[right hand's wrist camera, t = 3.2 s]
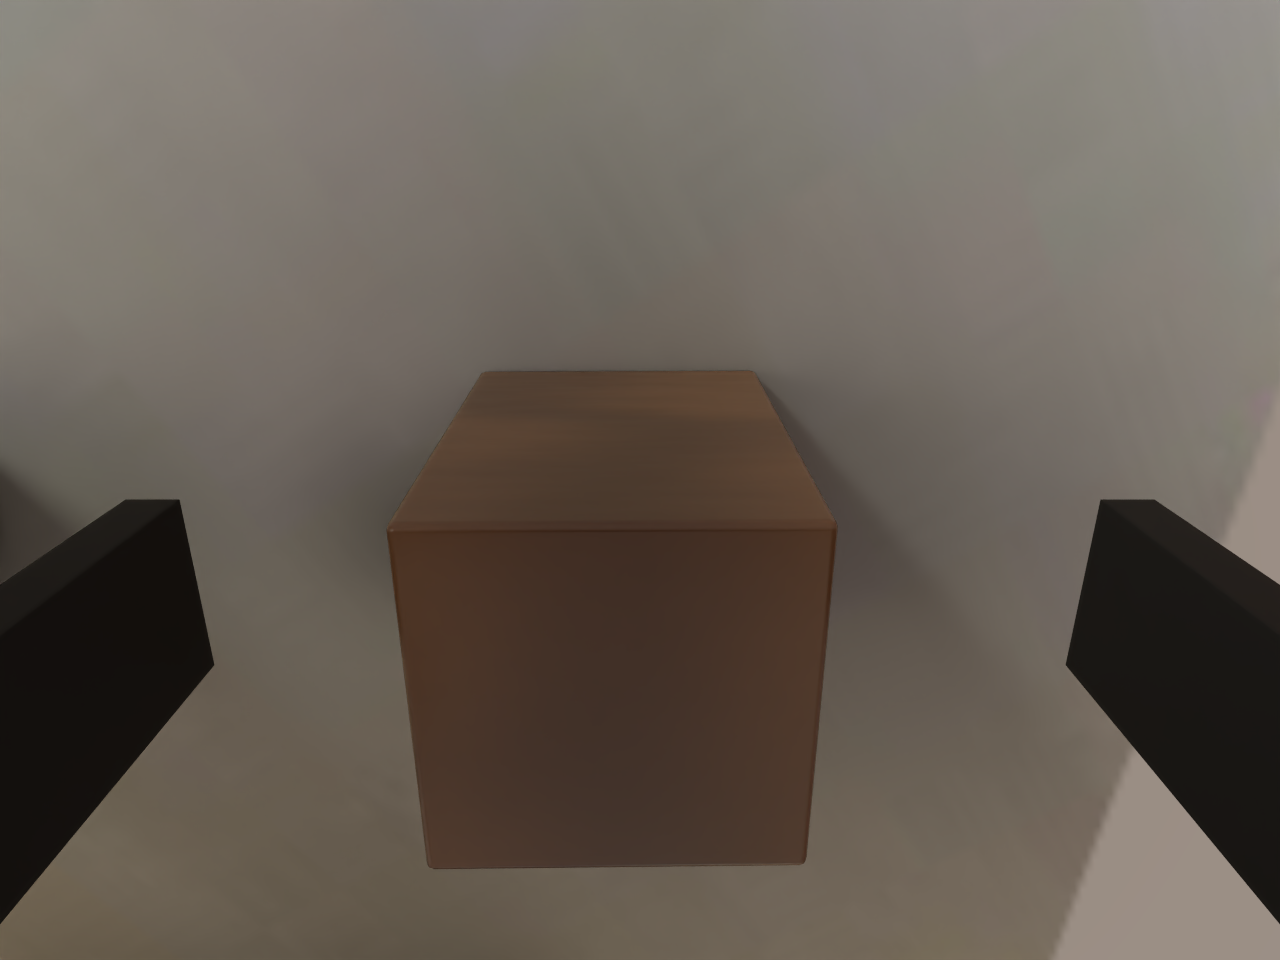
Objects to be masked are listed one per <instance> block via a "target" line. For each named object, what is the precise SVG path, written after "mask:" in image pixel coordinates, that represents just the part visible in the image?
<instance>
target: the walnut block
mask: <svg viewBox="0 0 1280 960" xmlns="http://www.w3.org/2000/svg"><path fill="white" fill-rule="evenodd" d="M837 530H838V526H837V524H836V521H835V519H834V517H833V515H832V514H831V512H830V510H829V508H828V506H827V504H826V502H825V501H824V499H823V497H822V495H821V493H820V491H819V490H818V488H817V486H816V484H815V482H814V480H813V479H812V477H811V475H810V473H809V471H808V469H807V468H806V466H805V464H804V462H803V460H802V458H801V457H800V455H799V453H798V451H797V449H796V447H795V446H794V444H793V442H792V440H791V438H790V436H789V435H788V433H787V431H786V429H785V427H784V425H783V424H782V422H781V420H780V418H779V416H778V414H777V413H776V411H775V409H774V407H773V405H772V403H771V402H770V400H769V398H768V396H767V394H766V392H765V391H764V389H763V387H762V385H761V383H760V381H759V379H758V378H757V376H756V374H755V373H754V372H752V371H596V372H484V373H482V374H481V375H480V377H479V379H478V380H477V382H476V383H475V385H474V387H473V388H472V390H471V391H470V393H469V395H468V396H467V398H466V399H465V401H464V403H463V404H462V406H461V408H460V409H459V411H458V412H457V414H456V416H455V417H454V419H453V420H452V422H451V424H450V425H449V427H448V428H447V430H446V432H445V433H444V435H443V437H442V438H441V440H440V441H439V443H438V445H437V446H436V448H435V449H434V451H433V453H432V454H431V456H430V458H429V459H428V461H427V462H426V464H425V466H424V467H423V469H422V470H421V472H420V474H419V475H418V477H417V478H416V480H415V482H414V483H413V485H412V487H411V488H410V490H409V491H408V493H407V495H406V496H405V498H404V499H403V501H402V503H401V504H400V506H399V507H398V509H397V511H396V512H395V514H394V516H393V517H392V519H391V520H390V522H389V524H388V527H387V538H388V546H389V555H390V563H391V571H392V579H393V587H394V596H395V604H396V612H397V620H398V628H399V637H400V645H401V653H402V661H403V669H404V678H405V686H406V694H407V702H408V710H409V719H410V727H411V735H412V743H413V751H414V760H415V768H416V776H417V784H418V792H419V801H420V809H421V817H422V825H423V833H424V842H425V850H426V858H427V863H428V866H429V867H430V868H433V869H480V868H572V867H664V866H756V865H801V864H803V863H804V862H805V860H806V856H807V845H808V835H809V824H810V814H811V803H812V793H813V782H814V772H815V761H816V751H817V740H818V730H819V719H820V709H821V698H822V688H823V677H824V667H825V656H826V645H827V635H828V624H829V614H830V603H831V593H832V582H833V572H834V561H835V551H836V540H837Z"/></svg>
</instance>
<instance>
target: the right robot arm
mask: <svg viewBox="0 0 1280 960" xmlns="http://www.w3.org/2000/svg"><path fill="white" fill-rule="evenodd" d="M213 666H214V661H213V656H212V652H211V647H210V642H209V637H208V633H207V628H206V623H205V619H204V614H203V609H202V604H201V600H200V595H199V590H198V585H197V581H196V576H195V571H194V566H193V562H192V557H191V552H190V548H189V543H188V538H187V533H186V529H185V524H184V519H183V514H182V510H181V505H180V500H124V501H123V502H121V503H120V504H118V505H117V506H116V507H114V508H113V509H111V510H110V511H108V512H107V513H105V514H104V515H102V516H101V517H99V518H98V519H96V520H95V521H93V522H92V523H91V524H89V525H88V526H86V527H85V528H83V529H82V530H80V531H79V532H77V533H76V534H74V535H73V536H71V537H70V538H68V539H67V540H66V541H64V542H63V543H61V544H60V545H58V546H57V547H55V548H54V549H52V550H51V551H49V552H48V553H46V554H45V555H43V556H42V557H41V558H39V559H38V560H36V561H35V562H33V563H32V564H30V565H29V566H27V567H26V568H24V569H23V570H21V571H20V572H18V573H17V574H16V575H14V576H13V577H11V578H10V579H8V580H7V581H5V582H4V583H2V584H1V585H0V924H1V922H2V921H3V920H4V919H5V918H6V916H7V915H8V914H9V913H10V911H11V910H12V909H13V908H14V907H15V905H16V904H17V903H18V902H19V901H20V899H21V898H22V897H23V896H24V895H25V893H26V892H27V891H28V890H29V889H30V887H31V886H32V885H33V884H34V882H35V881H36V880H37V879H38V878H39V876H40V875H41V874H42V873H43V872H44V870H45V869H46V868H47V867H48V866H49V864H50V863H51V862H52V861H53V859H54V858H55V857H56V856H57V855H58V853H59V852H60V851H61V850H62V849H63V847H64V846H65V845H66V844H67V843H68V841H69V840H70V839H71V838H72V836H73V835H74V834H75V833H76V832H77V830H78V829H79V828H80V827H81V826H82V824H83V823H84V822H85V821H86V820H87V818H88V817H89V816H90V815H91V813H92V812H93V811H94V810H95V809H96V807H97V806H98V805H99V804H100V803H101V801H102V800H103V799H104V798H105V797H106V795H107V794H108V793H109V792H110V791H111V789H112V788H113V787H114V786H115V784H116V783H117V782H118V781H119V780H120V778H121V777H122V776H123V775H124V774H125V772H126V771H127V770H128V769H129V768H130V766H131V765H132V764H133V763H134V761H135V760H136V759H137V758H138V757H139V755H140V754H141V753H142V752H143V751H144V749H145V748H146V747H147V746H148V745H149V743H150V742H151V741H152V740H153V738H154V737H155V736H156V735H157V734H158V732H159V731H160V730H161V729H162V728H163V726H164V725H165V724H166V723H167V722H168V720H169V719H170V718H171V717H172V716H173V714H174V713H175V712H176V711H177V709H178V708H179V707H180V706H181V705H182V703H183V702H184V701H185V700H186V699H187V697H188V696H189V695H190V694H191V693H192V691H193V690H194V689H195V688H196V686H197V685H198V684H199V683H200V682H201V680H202V679H203V678H204V677H205V676H206V674H207V673H208V672H209V671H210V670H211V668H212V667H213ZM1066 666H1067V667H1068V668H1069V670H1070V671H1071V672H1072V673H1073V674H1074V676H1075V677H1076V678H1077V679H1078V680H1079V682H1080V683H1081V684H1082V685H1083V686H1084V688H1085V689H1086V690H1087V691H1088V693H1089V694H1090V695H1091V696H1092V697H1093V699H1094V700H1095V701H1096V702H1097V703H1098V705H1099V706H1100V707H1101V708H1102V709H1103V711H1104V712H1105V713H1106V714H1107V716H1108V717H1109V718H1110V719H1111V720H1112V722H1113V723H1114V724H1115V725H1116V726H1117V728H1118V729H1119V730H1120V731H1121V732H1122V734H1123V735H1124V736H1125V737H1126V738H1127V740H1128V741H1129V742H1130V743H1131V745H1132V746H1133V747H1134V748H1135V749H1136V751H1137V752H1138V753H1139V754H1140V755H1141V757H1142V758H1143V759H1144V760H1145V761H1146V763H1147V764H1148V765H1149V766H1150V768H1151V769H1152V770H1153V771H1154V772H1155V774H1156V775H1157V776H1158V777H1159V778H1160V780H1161V781H1162V782H1163V783H1164V784H1165V786H1166V787H1167V788H1168V789H1169V791H1170V792H1171V793H1172V794H1173V795H1174V797H1175V798H1176V799H1177V800H1178V801H1179V803H1180V804H1181V805H1182V806H1183V807H1184V809H1185V810H1186V811H1187V812H1188V813H1189V815H1190V816H1191V817H1192V818H1193V820H1194V821H1195V822H1196V823H1197V824H1198V826H1199V827H1200V828H1201V829H1202V830H1203V832H1204V833H1205V834H1206V835H1207V836H1208V838H1209V839H1210V840H1211V841H1212V843H1213V844H1214V845H1215V846H1216V847H1217V849H1218V850H1219V851H1220V852H1221V853H1222V855H1223V856H1224V857H1225V858H1226V859H1227V861H1228V862H1229V863H1230V864H1231V866H1232V867H1233V868H1234V869H1235V870H1236V872H1237V873H1238V874H1239V875H1240V876H1241V878H1242V879H1243V880H1244V881H1245V882H1246V884H1247V885H1248V886H1249V887H1250V889H1251V890H1252V891H1253V892H1254V893H1255V895H1256V896H1257V897H1258V898H1259V899H1260V901H1261V902H1262V903H1263V904H1264V905H1265V907H1266V908H1267V909H1268V910H1269V911H1270V913H1271V914H1272V915H1273V916H1274V918H1275V919H1276V920H1277V921H1278V922H1279V924H1280V585H1279V584H1278V583H1276V582H1275V581H1273V580H1272V579H1270V578H1269V577H1267V576H1266V575H1264V574H1263V573H1261V572H1260V571H1259V570H1257V569H1256V568H1254V567H1253V566H1251V565H1250V564H1248V563H1247V562H1245V561H1244V560H1242V559H1241V558H1239V557H1238V556H1237V555H1235V554H1233V553H1232V552H1231V551H1229V550H1228V549H1226V548H1225V547H1223V546H1222V545H1220V544H1219V543H1217V542H1216V541H1214V540H1213V539H1212V538H1210V537H1209V536H1207V535H1206V534H1204V533H1203V532H1201V531H1200V530H1198V529H1197V528H1195V527H1194V526H1192V525H1191V524H1189V523H1188V522H1187V521H1185V520H1184V519H1182V518H1181V517H1179V516H1178V515H1176V514H1175V513H1173V512H1172V511H1170V510H1169V509H1167V508H1166V507H1164V506H1163V505H1162V504H1160V503H1159V502H1157V501H1156V500H1100V505H1099V510H1098V514H1097V519H1096V524H1095V529H1094V533H1093V538H1092V543H1091V548H1090V552H1089V557H1088V562H1087V566H1086V571H1085V576H1084V581H1083V585H1082V590H1081V595H1080V600H1079V604H1078V609H1077V614H1076V619H1075V623H1074V628H1073V633H1072V637H1071V642H1070V647H1069V652H1068V656H1067V661H1066Z"/></svg>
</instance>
